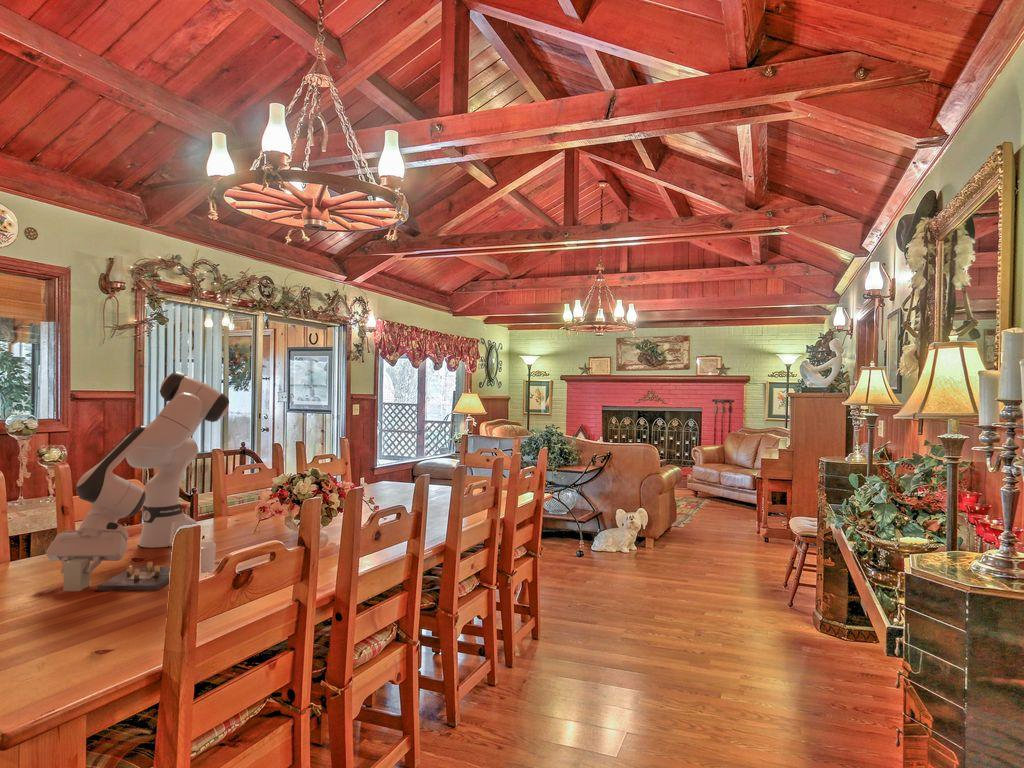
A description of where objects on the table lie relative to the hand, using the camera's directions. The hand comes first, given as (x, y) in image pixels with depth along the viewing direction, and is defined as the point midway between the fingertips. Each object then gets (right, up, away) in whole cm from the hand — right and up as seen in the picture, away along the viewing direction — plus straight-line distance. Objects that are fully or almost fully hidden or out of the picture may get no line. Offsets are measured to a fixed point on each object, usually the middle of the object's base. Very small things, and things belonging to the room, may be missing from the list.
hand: (75, 573), depth 178 cm
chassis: (+14, -5, +9) cm, 17 cm away
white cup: (+29, -6, +13) cm, 32 cm away
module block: (0, -5, +1) cm, 5 cm away
